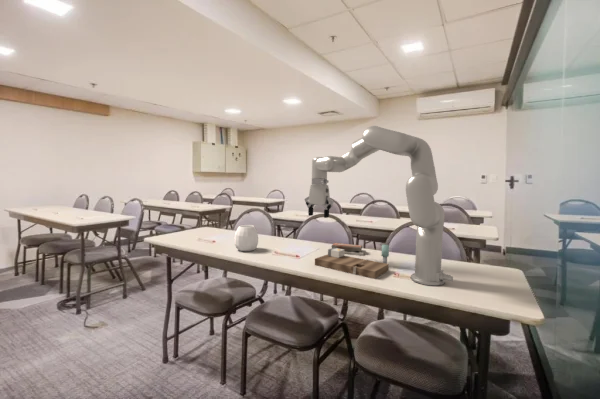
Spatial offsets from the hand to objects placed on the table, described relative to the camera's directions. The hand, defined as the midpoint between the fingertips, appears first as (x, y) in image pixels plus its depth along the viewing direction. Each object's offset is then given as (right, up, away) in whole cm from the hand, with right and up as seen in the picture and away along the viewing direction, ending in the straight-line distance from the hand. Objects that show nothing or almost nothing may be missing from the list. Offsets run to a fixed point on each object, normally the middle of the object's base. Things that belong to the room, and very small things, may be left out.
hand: (318, 216), depth 151 cm
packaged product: (+17, -21, +15) cm, 31 cm away
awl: (+30, -22, -12) cm, 39 cm away
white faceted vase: (-39, -20, +19) cm, 48 cm away
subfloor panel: (+14, -22, -14) cm, 30 cm away
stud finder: (+8, -19, -6) cm, 21 cm away
